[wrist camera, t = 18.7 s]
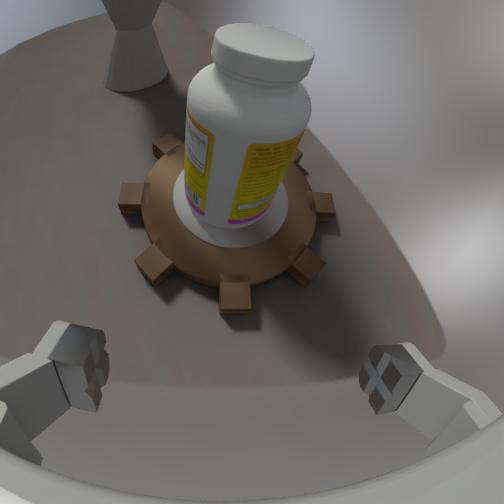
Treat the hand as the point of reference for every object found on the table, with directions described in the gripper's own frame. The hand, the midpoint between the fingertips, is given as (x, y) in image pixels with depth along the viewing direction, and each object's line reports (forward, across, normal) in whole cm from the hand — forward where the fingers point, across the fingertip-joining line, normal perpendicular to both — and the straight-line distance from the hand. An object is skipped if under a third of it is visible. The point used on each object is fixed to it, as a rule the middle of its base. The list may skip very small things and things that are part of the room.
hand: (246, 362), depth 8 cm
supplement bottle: (+16, 0, -2) cm, 16 cm away
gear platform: (+17, 0, -1) cm, 17 cm away
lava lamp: (+31, +13, -14) cm, 37 cm away
